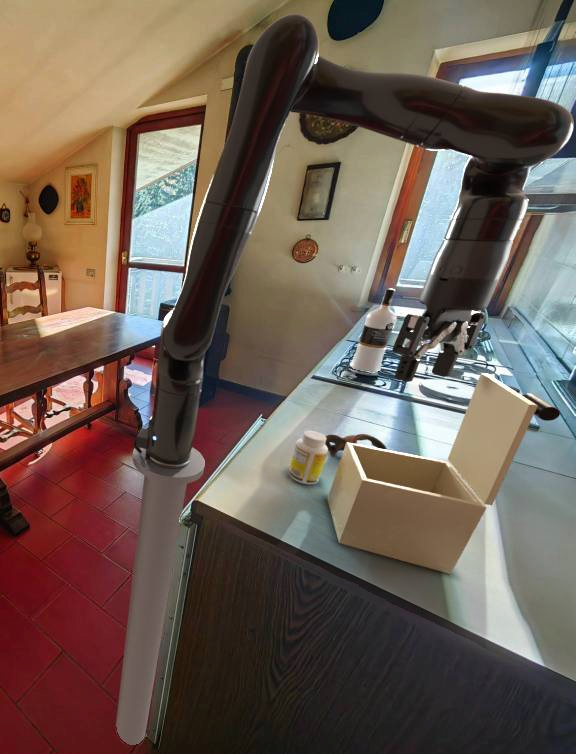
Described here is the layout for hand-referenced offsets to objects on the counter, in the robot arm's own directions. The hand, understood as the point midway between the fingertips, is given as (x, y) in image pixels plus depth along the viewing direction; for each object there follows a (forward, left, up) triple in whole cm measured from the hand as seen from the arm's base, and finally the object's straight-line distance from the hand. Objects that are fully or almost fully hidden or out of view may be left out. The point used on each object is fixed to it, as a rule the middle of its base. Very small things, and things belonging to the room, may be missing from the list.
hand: (421, 377), depth 62 cm
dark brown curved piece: (0, +17, -27) cm, 32 cm away
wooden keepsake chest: (+1, -6, -27) cm, 27 cm away
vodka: (+17, +90, -27) cm, 96 cm away
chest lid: (+7, -6, -6) cm, 11 cm away
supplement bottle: (-10, +6, -27) cm, 30 cm away
